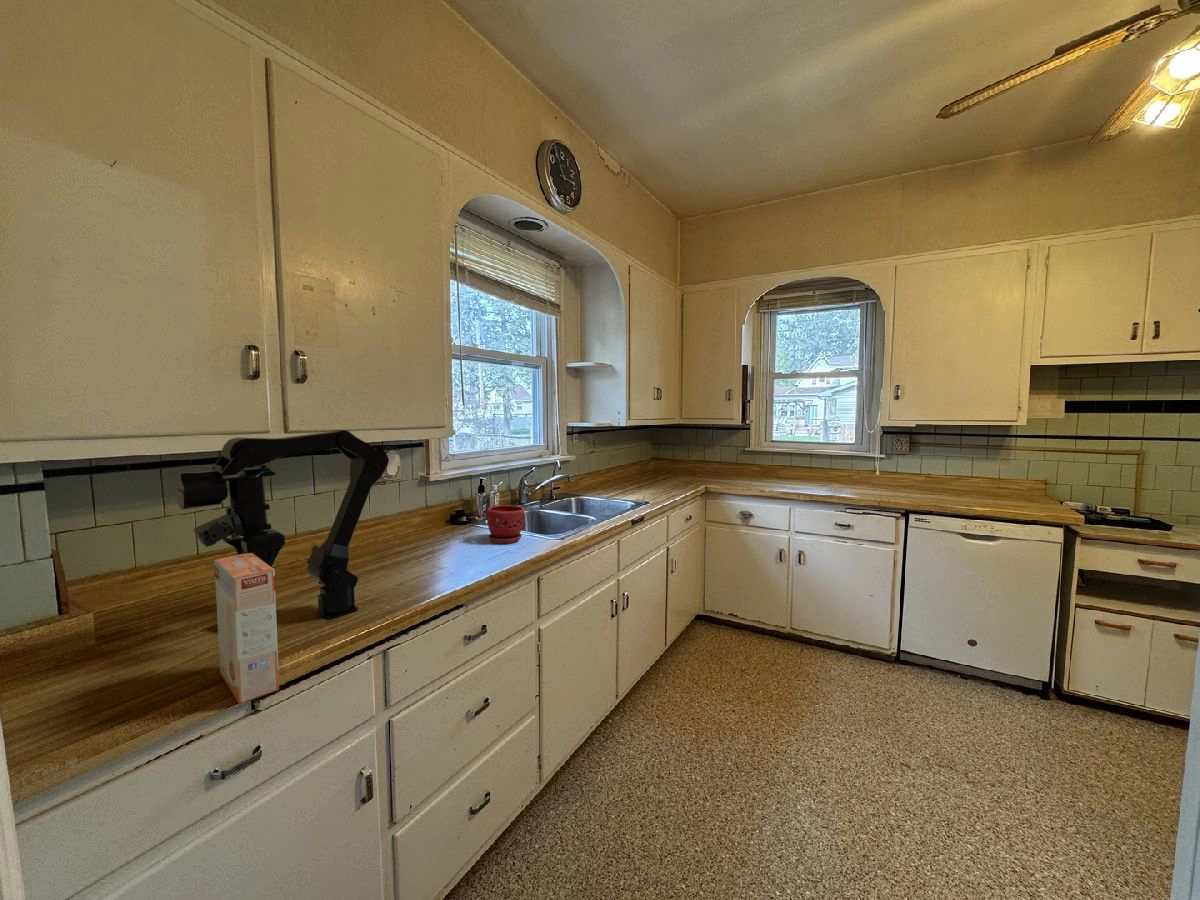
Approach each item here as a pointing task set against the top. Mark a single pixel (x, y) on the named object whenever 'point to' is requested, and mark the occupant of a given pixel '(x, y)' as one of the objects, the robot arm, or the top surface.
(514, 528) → the plant pot
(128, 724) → the top surface
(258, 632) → the cracker box
